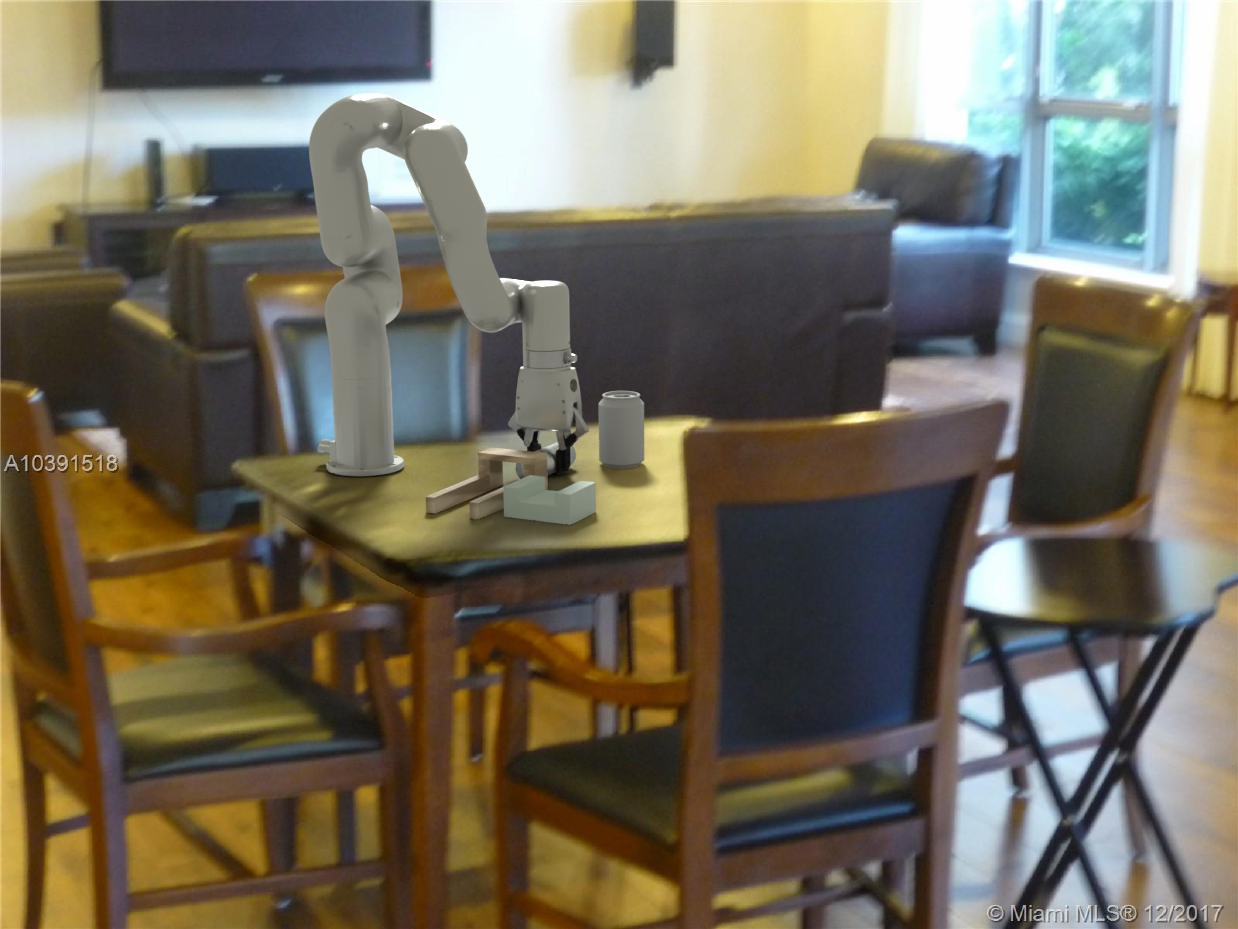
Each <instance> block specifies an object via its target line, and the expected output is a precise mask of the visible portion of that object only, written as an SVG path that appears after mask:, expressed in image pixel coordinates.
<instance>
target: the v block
mask: <svg viewBox="0 0 1238 929" xmlns="http://www.w3.org/2000/svg"><path fill="white" fill-rule="evenodd" d="M596 484H597V483H596V482H595V481H585V480H578V481H577V482H574V483H573V484H570V485H568V486H566V487H564V488H562V489H559V490H549V489H548V490H545V477H542V476H533V475H529V476H527V477H525V478H522V479H520V478H519V479H518V480H516V481H514V482H512V483H509V484H507V485H503V496H504V508H503V517H504V518H510V517H511V519H512V518H513V519H518V520H519V519H520V520H528V521H534V520H535V521H536V522H541V523H543V522H544V523H551V524H559V525H561V524H562V525H566V524H567V526H572V525H573V524H575V523H577V522H580V521H581V520H583V519H586V518H587V517H589V516H591V515H593V514H595V513H596V512H597V506H596V505H597V502H596V500H597V498H596V496H597V494H596V490H597V489H596V486H597V485H596ZM571 524H572V525H571Z"/></svg>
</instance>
